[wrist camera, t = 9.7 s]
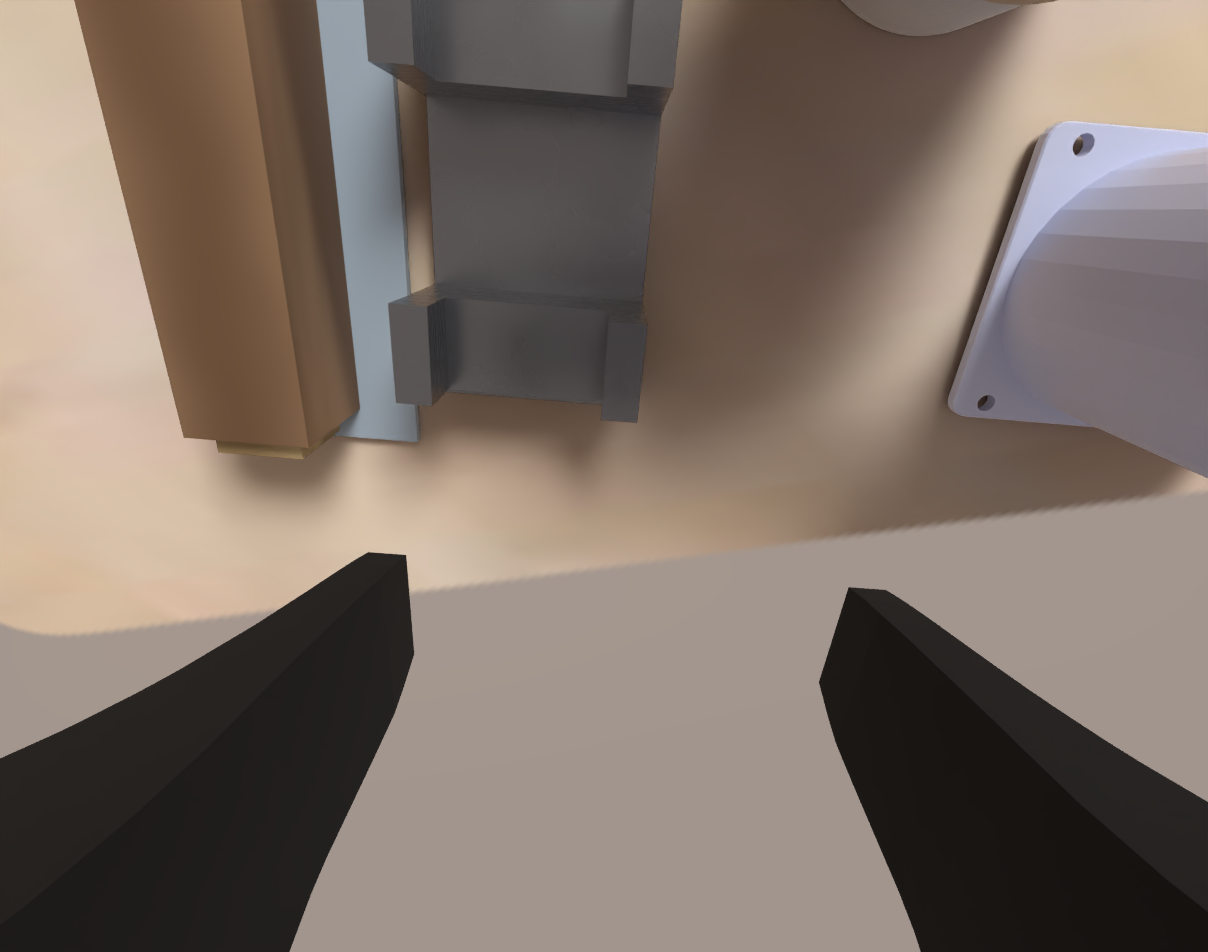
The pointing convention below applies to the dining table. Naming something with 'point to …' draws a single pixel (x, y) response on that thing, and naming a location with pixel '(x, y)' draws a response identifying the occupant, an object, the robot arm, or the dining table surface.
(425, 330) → the stand
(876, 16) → the coffee cup
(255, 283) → the rail
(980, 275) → the dining table surface
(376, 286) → the mat
